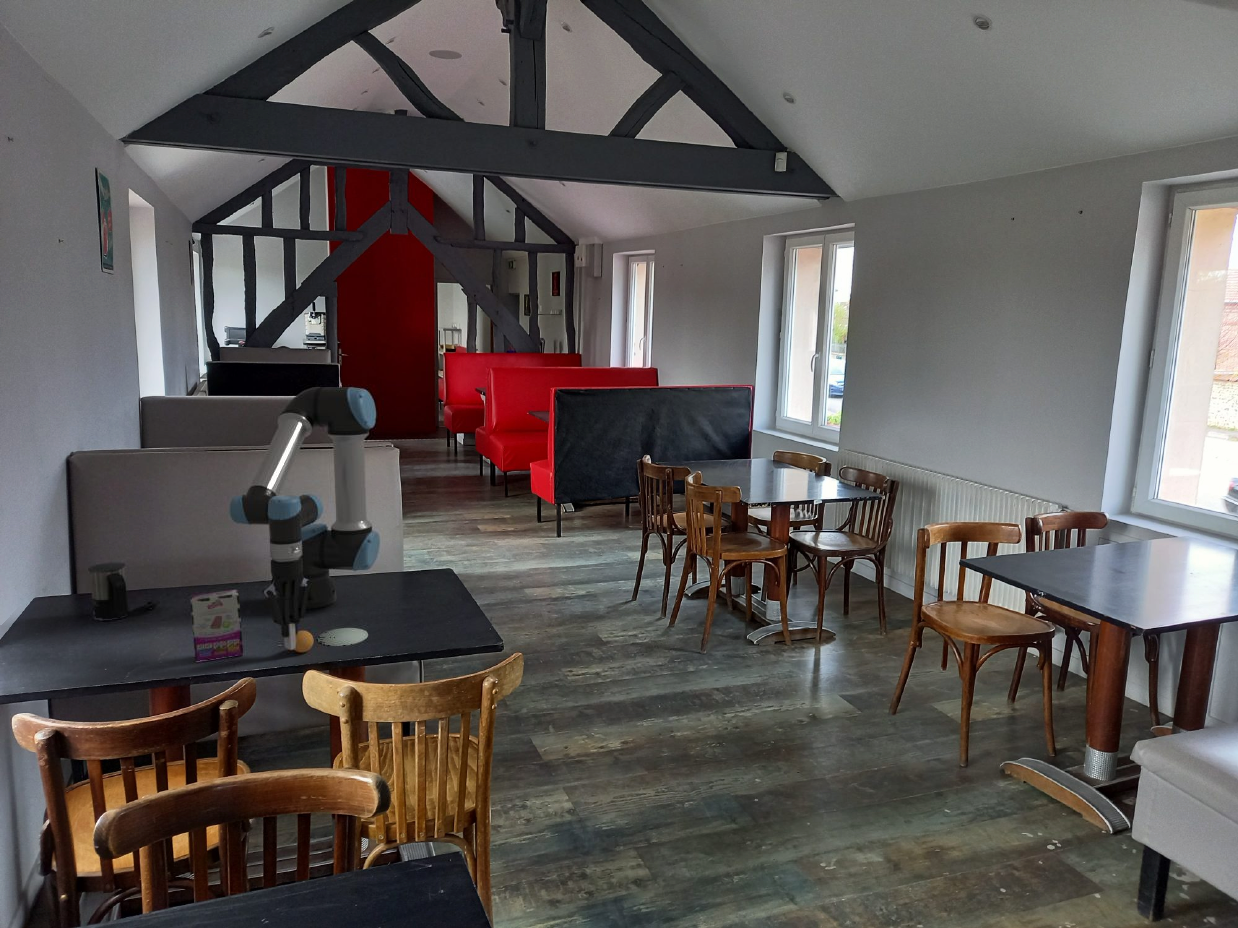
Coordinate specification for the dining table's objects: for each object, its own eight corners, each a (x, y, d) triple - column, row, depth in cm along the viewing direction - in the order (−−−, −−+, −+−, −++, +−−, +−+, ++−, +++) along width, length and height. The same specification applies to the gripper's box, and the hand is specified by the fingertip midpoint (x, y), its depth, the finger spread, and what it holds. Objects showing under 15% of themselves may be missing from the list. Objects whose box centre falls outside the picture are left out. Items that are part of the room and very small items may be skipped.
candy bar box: (242, 649, 225) (238, 588, 222) (243, 656, 221) (239, 594, 218) (194, 656, 220) (189, 594, 217) (194, 663, 216) (190, 600, 213)
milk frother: (84, 619, 246) (79, 568, 243) (134, 602, 260) (130, 554, 257) (120, 626, 240) (115, 574, 238) (169, 609, 255) (165, 560, 252)
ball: (282, 642, 222) (296, 624, 225) (294, 653, 226) (308, 635, 228) (295, 647, 219) (309, 629, 222) (308, 658, 223) (321, 640, 225)
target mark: (307, 638, 233) (307, 638, 233) (347, 625, 243) (347, 624, 243) (338, 649, 225) (338, 649, 225) (378, 635, 236) (378, 634, 236)
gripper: (272, 565, 210) (276, 658, 214) (318, 554, 220) (321, 643, 224) (254, 560, 214) (258, 651, 218) (300, 550, 225) (303, 637, 228)
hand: (290, 647), depth 221 cm, fingers closed
